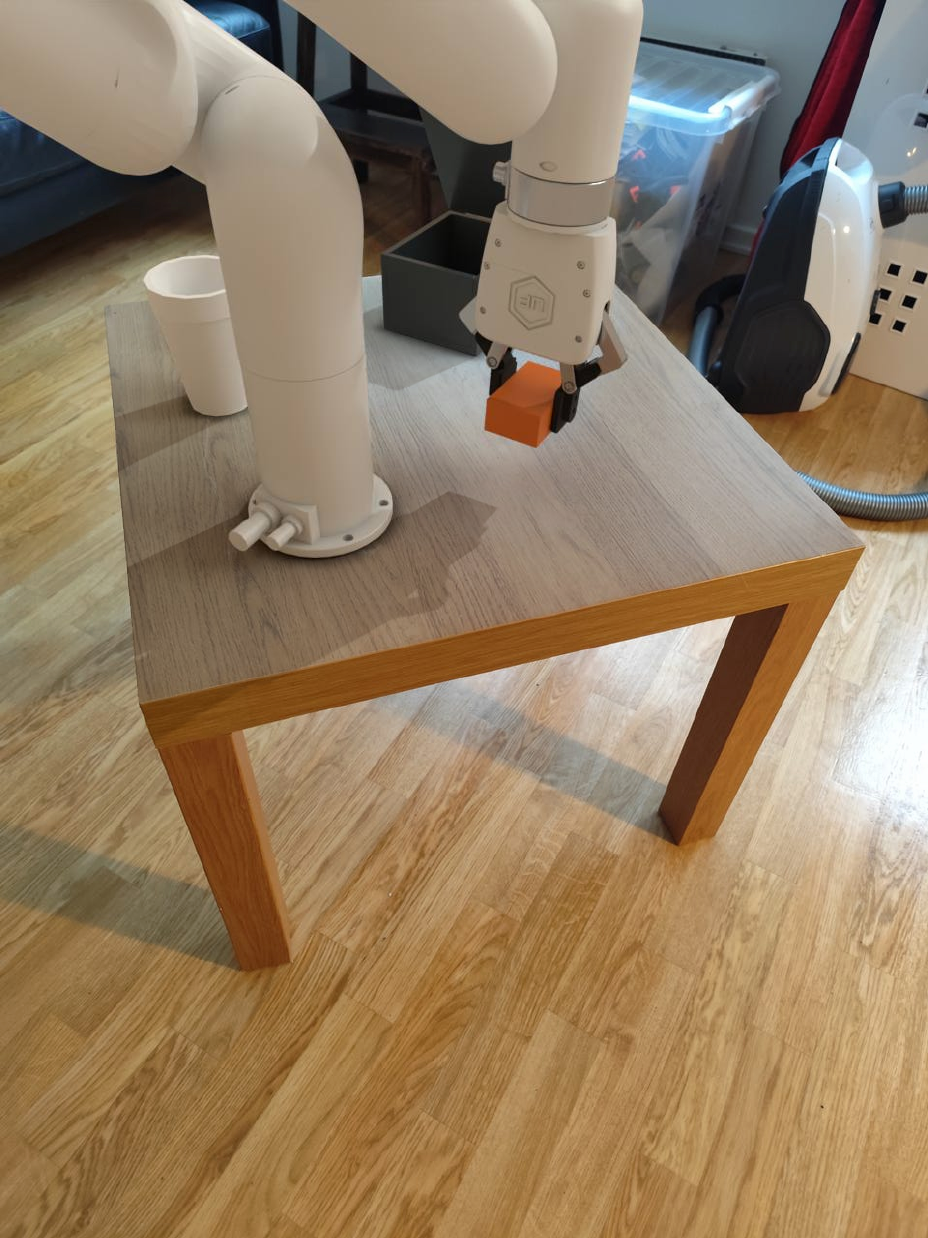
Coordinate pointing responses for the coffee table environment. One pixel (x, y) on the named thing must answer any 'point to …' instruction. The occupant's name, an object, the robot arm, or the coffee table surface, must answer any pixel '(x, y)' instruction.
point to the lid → (466, 168)
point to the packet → (524, 405)
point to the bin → (435, 280)
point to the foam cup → (198, 331)
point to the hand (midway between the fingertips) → (530, 413)
